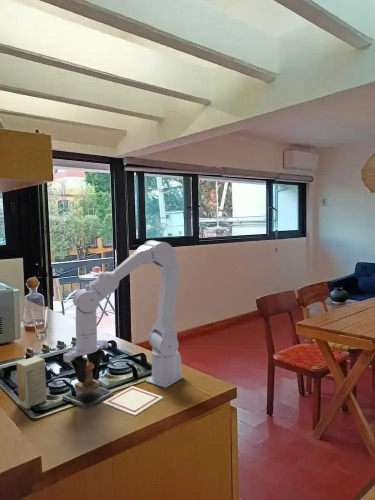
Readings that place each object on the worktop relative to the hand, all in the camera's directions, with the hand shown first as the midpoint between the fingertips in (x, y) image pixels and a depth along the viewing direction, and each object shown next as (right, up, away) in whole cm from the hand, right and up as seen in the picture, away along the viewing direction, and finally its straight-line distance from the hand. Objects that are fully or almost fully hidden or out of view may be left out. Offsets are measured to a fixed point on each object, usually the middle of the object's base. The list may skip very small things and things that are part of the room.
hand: (87, 378), depth 111 cm
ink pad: (0, -5, +1) cm, 6 cm away
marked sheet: (+13, -6, -1) cm, 14 cm away
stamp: (0, -3, +1) cm, 3 cm away
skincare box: (-14, -6, -3) cm, 16 cm away
